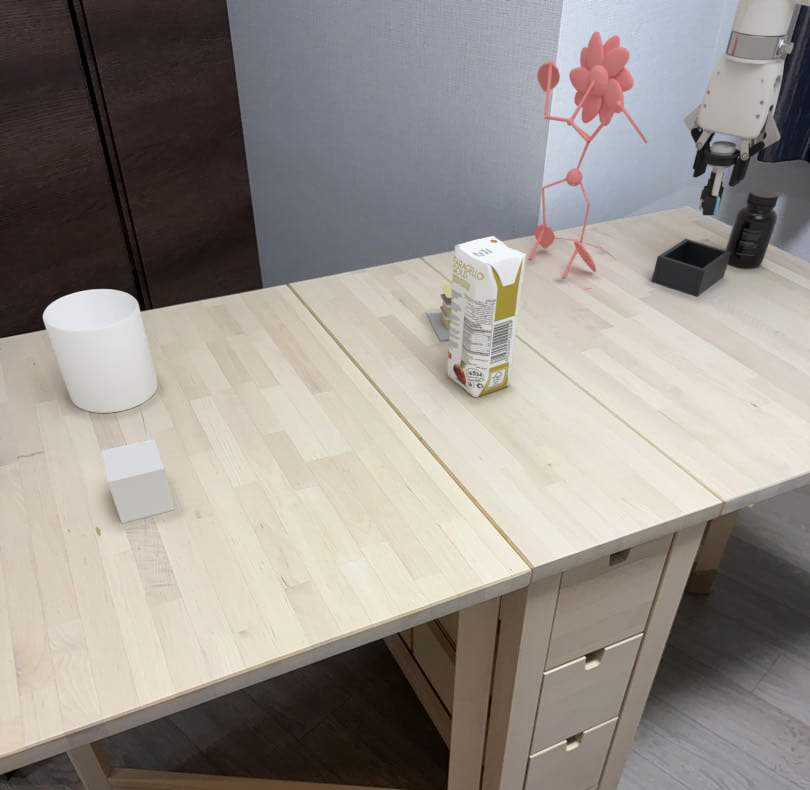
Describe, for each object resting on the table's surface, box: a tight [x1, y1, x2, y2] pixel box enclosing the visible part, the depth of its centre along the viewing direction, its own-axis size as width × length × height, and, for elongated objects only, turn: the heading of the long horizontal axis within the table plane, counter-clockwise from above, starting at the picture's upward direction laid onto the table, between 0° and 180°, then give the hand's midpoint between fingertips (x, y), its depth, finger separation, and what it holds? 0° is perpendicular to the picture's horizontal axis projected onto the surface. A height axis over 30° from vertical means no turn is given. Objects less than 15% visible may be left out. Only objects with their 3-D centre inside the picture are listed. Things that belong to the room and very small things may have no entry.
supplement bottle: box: [725, 188, 779, 269], centre depth 133 cm, size 7×7×12 cm
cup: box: [42, 288, 159, 414], centre depth 99 cm, size 12×12×12 cm
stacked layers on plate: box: [426, 284, 452, 341], centre depth 116 cm, size 10×9×6 cm
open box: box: [651, 238, 731, 297], centre depth 130 cm, size 9×11×4 cm
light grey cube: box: [100, 438, 176, 524], centre depth 84 cm, size 6×6×6 cm
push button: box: [698, 140, 741, 216], centre depth 119 cm, size 7×5×10 cm
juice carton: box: [447, 235, 527, 398], centre depth 100 cm, size 8×9×19 cm
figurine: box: [528, 31, 648, 291], centre depth 124 cm, size 15×26×35 cm, turn 33°
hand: (716, 178), depth 120 cm, fingers closed on push button, 5 cm apart
